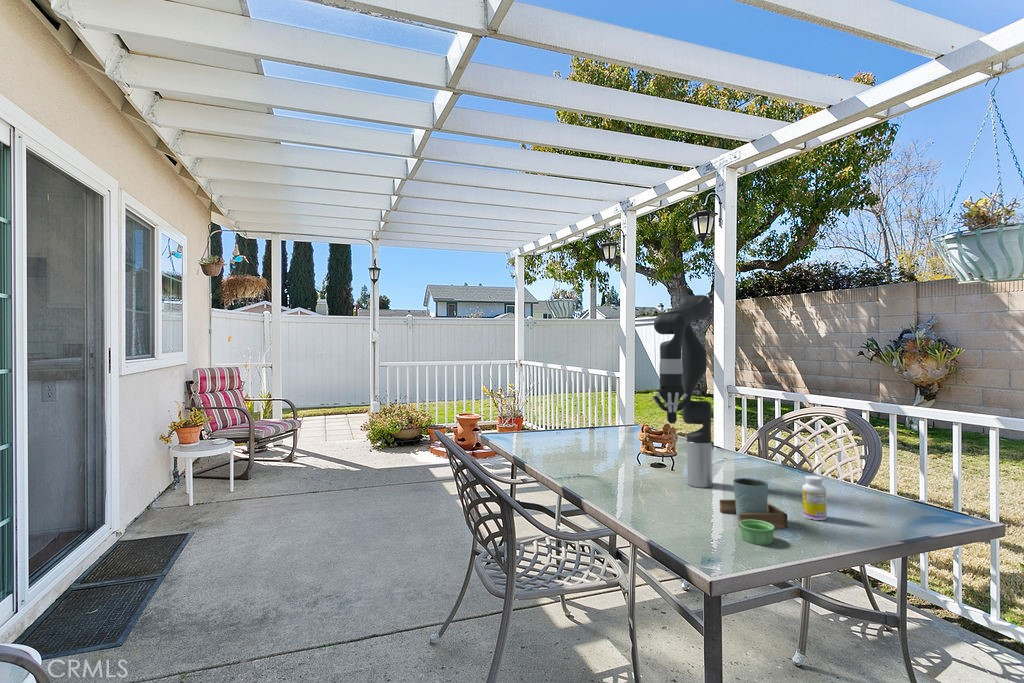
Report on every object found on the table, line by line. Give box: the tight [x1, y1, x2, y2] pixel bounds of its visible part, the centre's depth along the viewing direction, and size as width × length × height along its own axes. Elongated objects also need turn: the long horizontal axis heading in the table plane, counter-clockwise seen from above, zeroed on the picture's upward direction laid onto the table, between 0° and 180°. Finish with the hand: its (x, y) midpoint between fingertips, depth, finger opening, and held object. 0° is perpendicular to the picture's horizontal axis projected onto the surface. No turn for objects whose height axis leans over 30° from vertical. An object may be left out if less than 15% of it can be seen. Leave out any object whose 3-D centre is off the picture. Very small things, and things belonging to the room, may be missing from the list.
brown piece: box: [719, 499, 789, 529], centre depth 161 cm, size 15×14×4 cm
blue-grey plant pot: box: [732, 477, 769, 521], centre depth 161 cm, size 10×10×12 cm
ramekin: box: [738, 519, 775, 546], centre depth 144 cm, size 9×9×4 cm
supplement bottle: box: [801, 475, 828, 521], centre depth 162 cm, size 7×7×13 cm
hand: (671, 423), depth 173 cm, fingers closed
